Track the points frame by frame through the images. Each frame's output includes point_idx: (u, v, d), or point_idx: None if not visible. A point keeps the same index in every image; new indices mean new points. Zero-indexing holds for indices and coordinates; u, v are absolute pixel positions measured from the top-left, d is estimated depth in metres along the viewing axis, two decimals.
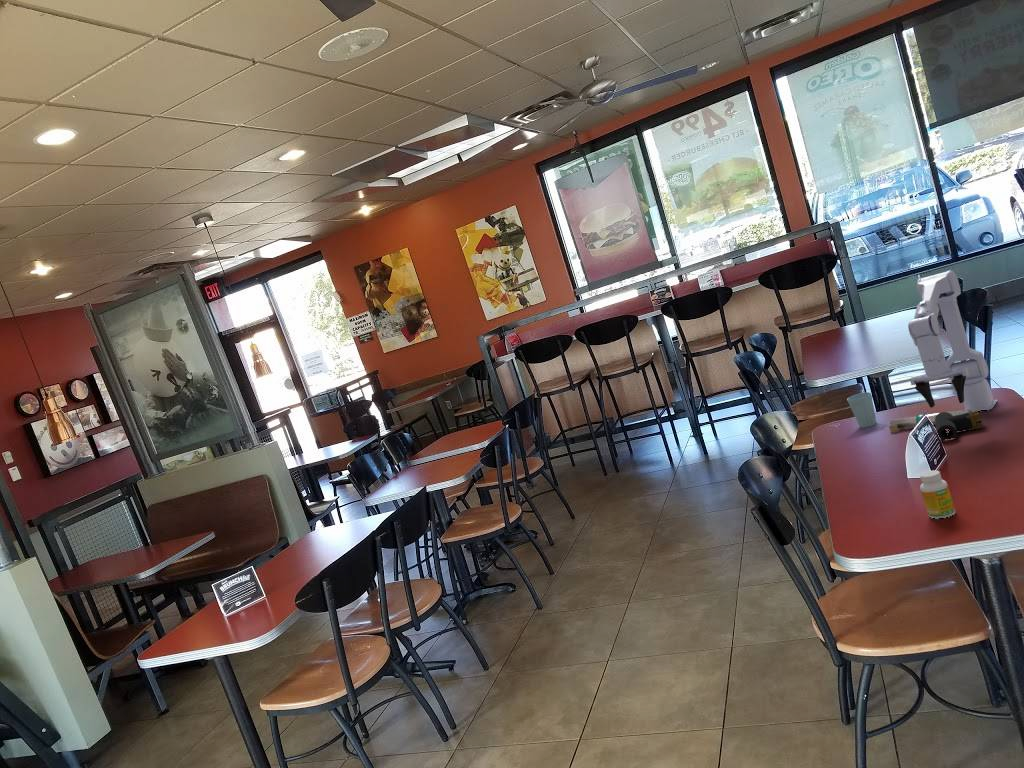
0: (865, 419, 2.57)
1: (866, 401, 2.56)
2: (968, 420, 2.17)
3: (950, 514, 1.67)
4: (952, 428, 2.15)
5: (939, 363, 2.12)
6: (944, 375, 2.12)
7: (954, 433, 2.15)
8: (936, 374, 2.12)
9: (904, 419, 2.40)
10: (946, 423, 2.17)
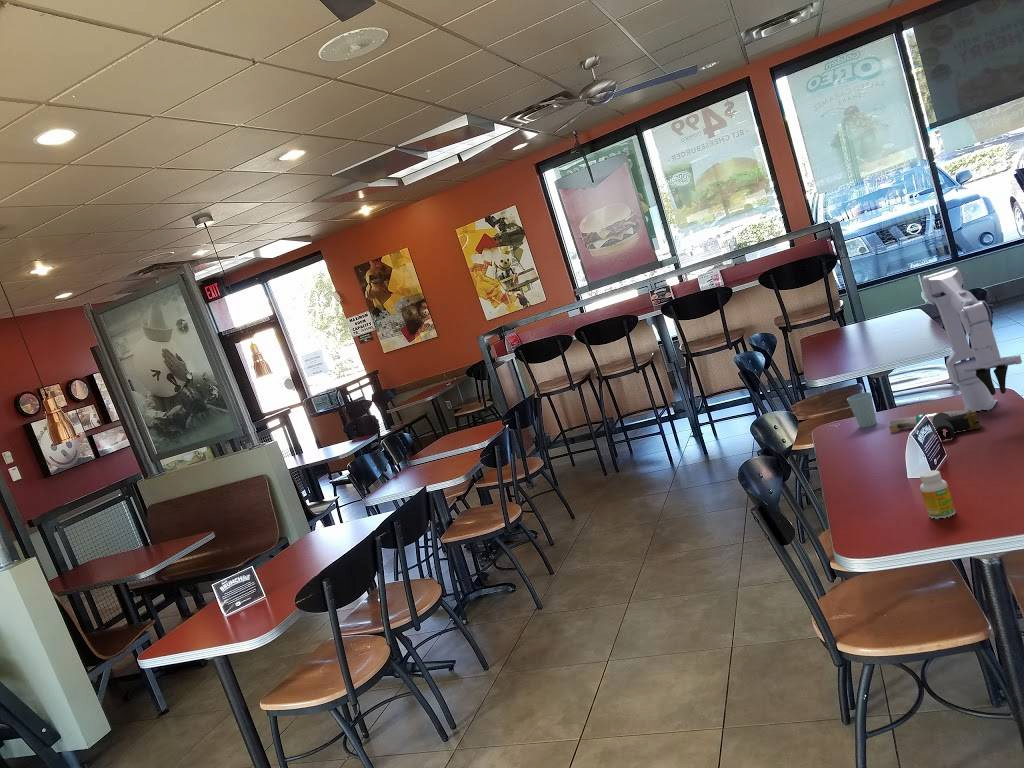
0: (865, 419, 2.57)
1: (866, 401, 2.56)
2: (965, 421, 2.18)
3: (950, 514, 1.67)
4: (949, 429, 2.15)
5: (991, 351, 2.08)
6: (996, 363, 2.07)
7: (951, 434, 2.15)
8: (988, 362, 2.08)
9: (904, 419, 2.40)
10: (943, 424, 2.17)
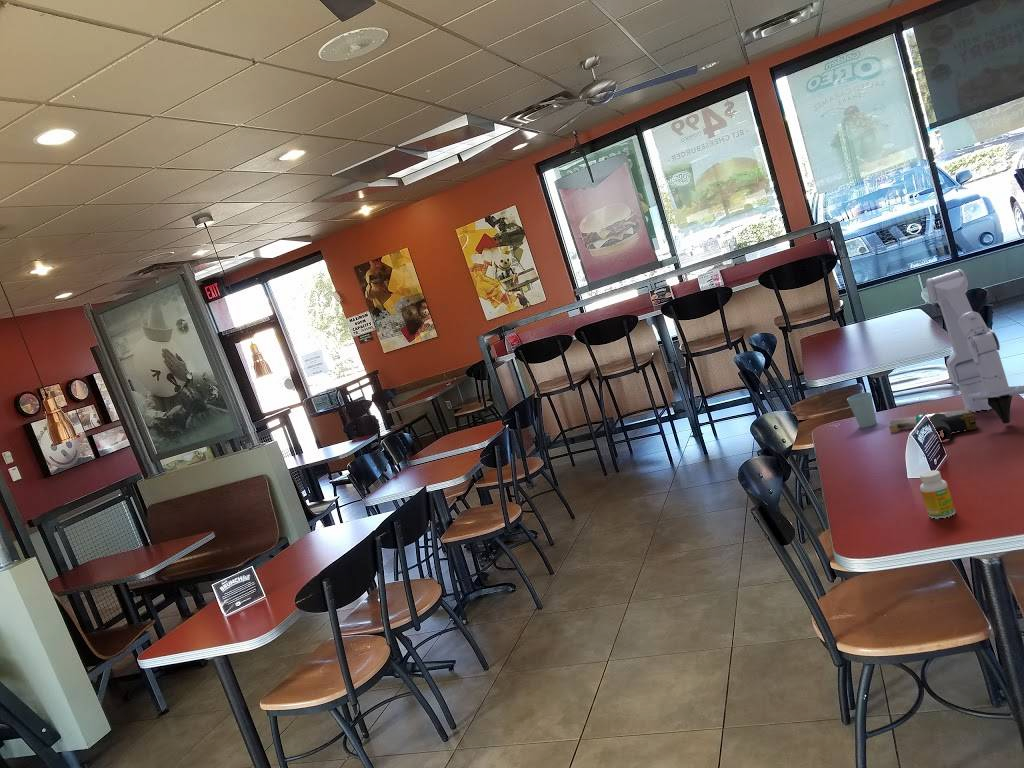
0: (865, 419, 2.57)
1: (866, 401, 2.56)
2: (962, 421, 2.18)
3: (950, 514, 1.67)
4: (946, 429, 2.16)
5: (1000, 381, 2.08)
6: (1005, 393, 2.08)
7: (948, 434, 2.16)
8: (996, 392, 2.09)
9: (904, 419, 2.40)
10: (940, 424, 2.18)
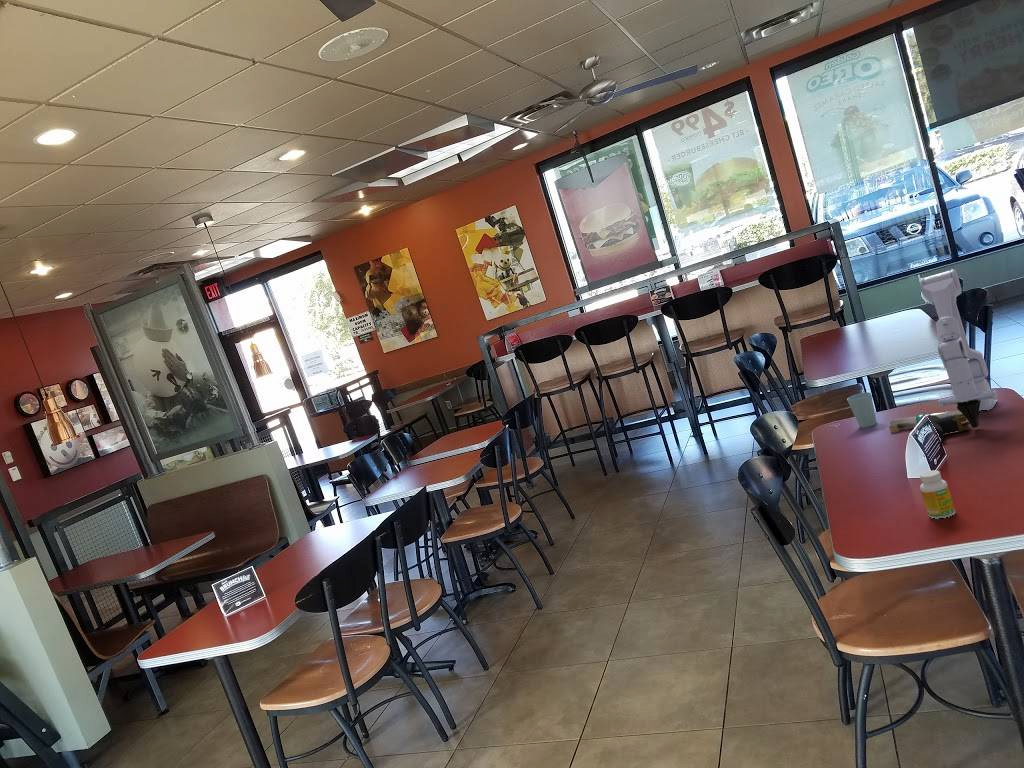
0: (865, 419, 2.57)
1: (866, 401, 2.56)
2: (954, 423, 2.19)
3: (950, 514, 1.67)
4: (938, 431, 2.17)
5: (968, 386, 2.14)
6: (973, 398, 2.14)
7: (940, 435, 2.17)
8: (965, 397, 2.14)
9: (904, 419, 2.40)
10: None
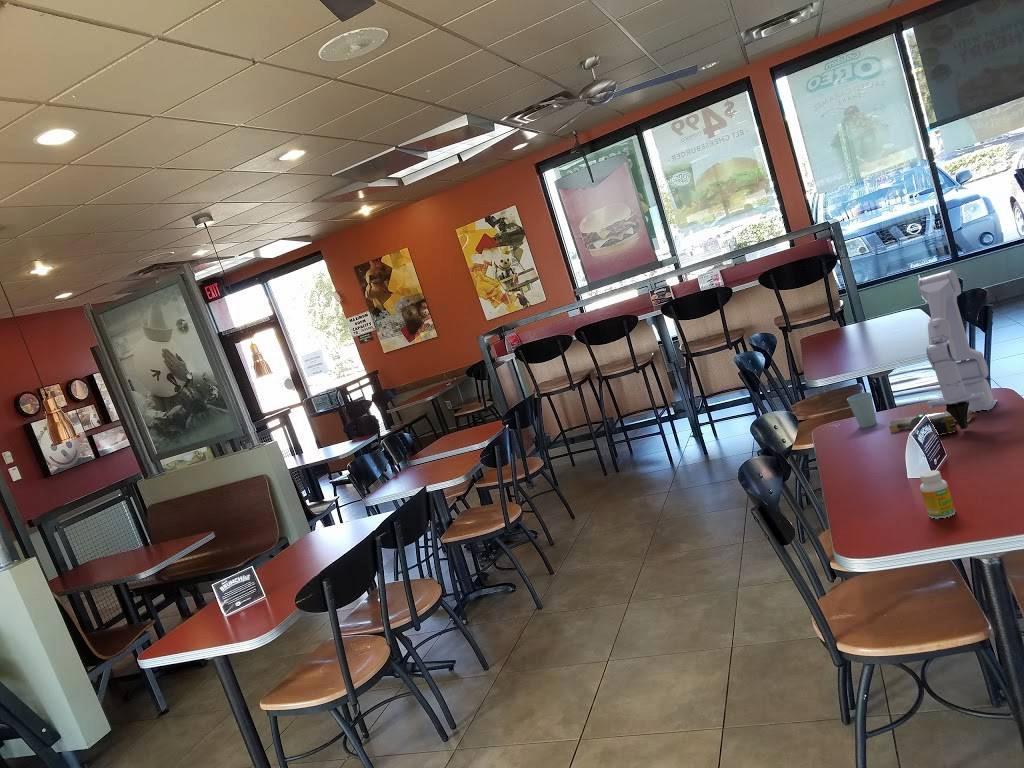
0: (865, 419, 2.57)
1: (866, 401, 2.56)
2: (943, 424, 2.21)
3: (950, 514, 1.67)
4: None
5: (957, 388, 2.16)
6: (962, 399, 2.16)
7: None
8: (954, 398, 2.17)
9: (904, 419, 2.40)
10: None
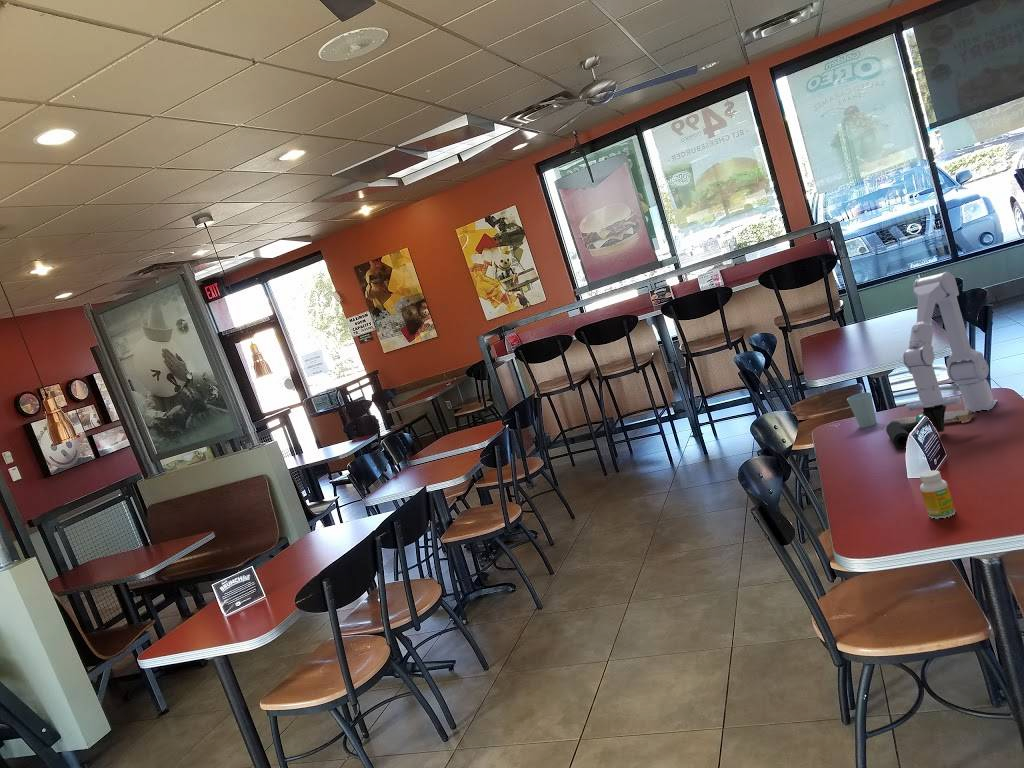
0: (865, 419, 2.57)
1: (866, 401, 2.56)
2: None
3: (950, 514, 1.67)
4: (907, 435, 2.22)
5: (933, 392, 2.20)
6: (938, 403, 2.20)
7: None
8: (930, 402, 2.21)
9: (904, 419, 2.40)
10: (901, 431, 2.24)
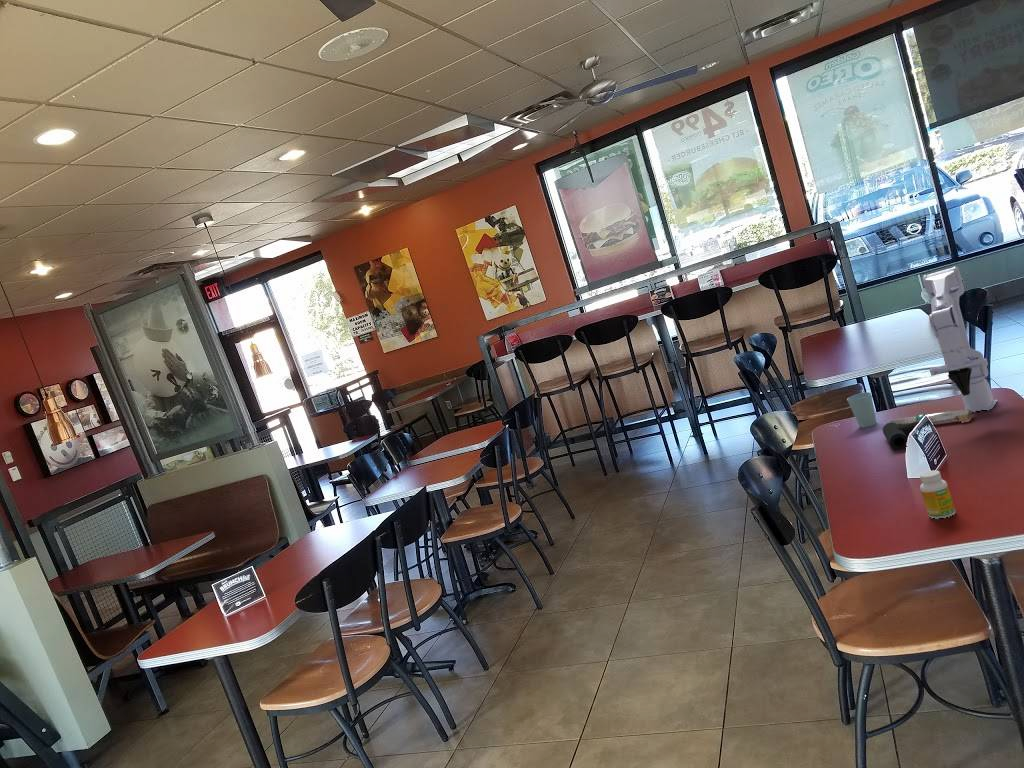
0: (864, 419, 2.57)
1: (866, 401, 2.56)
2: None
3: (950, 514, 1.67)
4: (904, 436, 2.22)
5: (959, 354, 2.16)
6: (964, 366, 2.16)
7: (906, 441, 2.22)
8: (956, 365, 2.17)
9: (904, 419, 2.40)
10: (897, 432, 2.24)
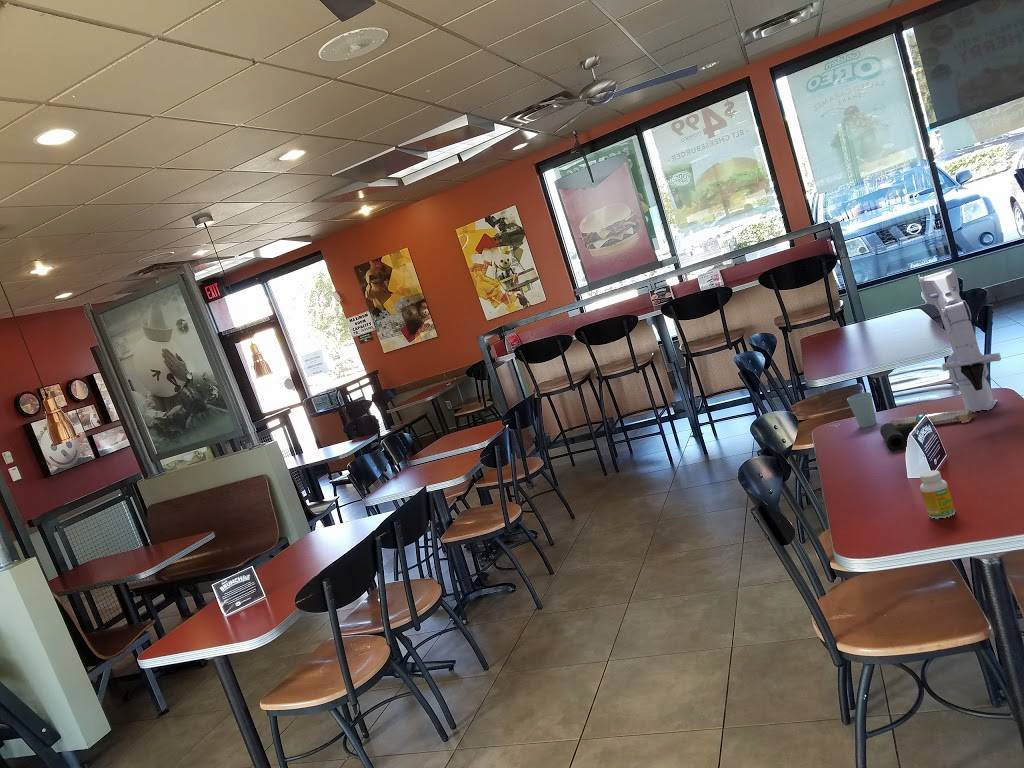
0: (865, 419, 2.57)
1: (866, 401, 2.56)
2: None
3: (950, 514, 1.67)
4: (901, 437, 2.23)
5: (972, 349, 2.16)
6: (977, 360, 2.16)
7: (903, 442, 2.23)
8: (969, 359, 2.17)
9: (904, 419, 2.40)
10: (895, 432, 2.25)
